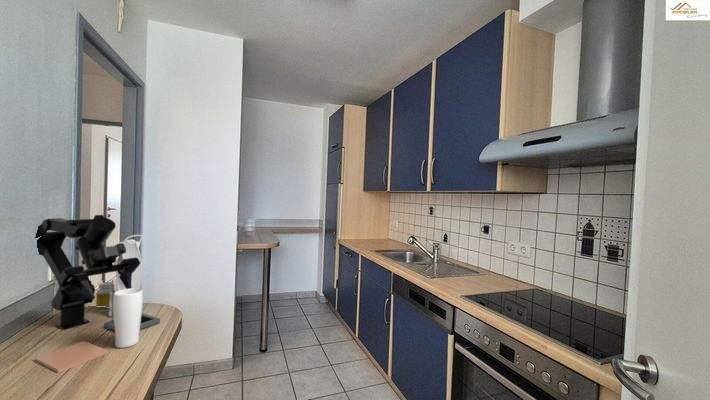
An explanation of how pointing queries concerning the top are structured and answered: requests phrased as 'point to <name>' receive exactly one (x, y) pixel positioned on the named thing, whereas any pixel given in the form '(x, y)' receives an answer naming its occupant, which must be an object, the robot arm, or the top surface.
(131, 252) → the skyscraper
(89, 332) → the top surface
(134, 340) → the white cup
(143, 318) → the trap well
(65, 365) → the terracotta tile
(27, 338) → the top surface
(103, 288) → the supplement bottle
